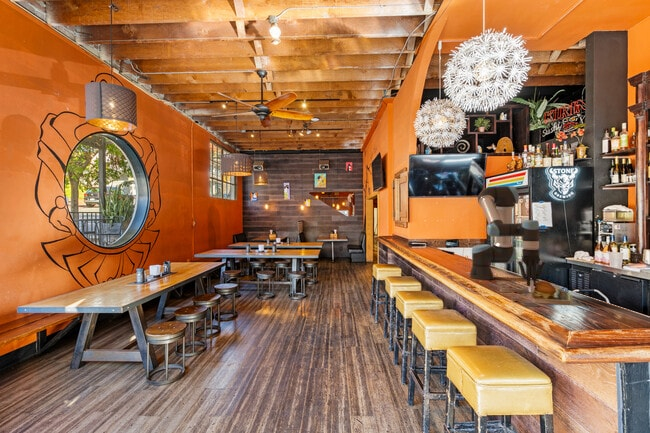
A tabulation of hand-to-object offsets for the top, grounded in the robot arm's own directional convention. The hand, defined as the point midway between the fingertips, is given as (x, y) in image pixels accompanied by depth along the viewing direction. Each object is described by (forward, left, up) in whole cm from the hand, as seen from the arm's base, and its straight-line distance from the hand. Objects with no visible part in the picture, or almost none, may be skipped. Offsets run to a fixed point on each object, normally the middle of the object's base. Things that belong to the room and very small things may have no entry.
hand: (531, 292), depth 164 cm
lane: (0, +1, -3) cm, 3 cm away
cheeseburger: (-1, +6, -3) cm, 7 cm away
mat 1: (-14, +2, -3) cm, 15 cm away
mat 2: (+14, -6, -3) cm, 15 cm away
